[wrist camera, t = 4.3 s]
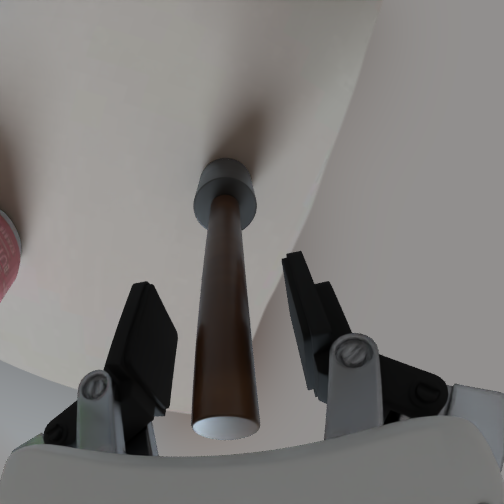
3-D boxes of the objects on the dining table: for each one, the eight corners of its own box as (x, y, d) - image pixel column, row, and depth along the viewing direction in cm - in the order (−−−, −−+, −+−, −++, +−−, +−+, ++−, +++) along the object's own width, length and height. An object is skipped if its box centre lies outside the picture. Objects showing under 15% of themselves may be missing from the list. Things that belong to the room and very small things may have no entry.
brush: (245, 153, 22) (298, 379, 5) (255, 200, 24) (305, 441, 8) (194, 164, 22) (120, 397, 6) (207, 210, 24) (182, 454, 8)
